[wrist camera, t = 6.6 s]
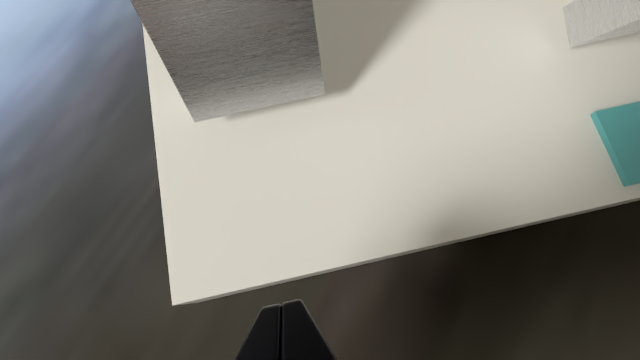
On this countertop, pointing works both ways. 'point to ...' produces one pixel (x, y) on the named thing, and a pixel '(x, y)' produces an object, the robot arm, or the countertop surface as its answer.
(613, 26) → the right lever
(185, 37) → the left lever
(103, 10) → the countertop surface
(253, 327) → the robot arm
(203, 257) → the switch panel
